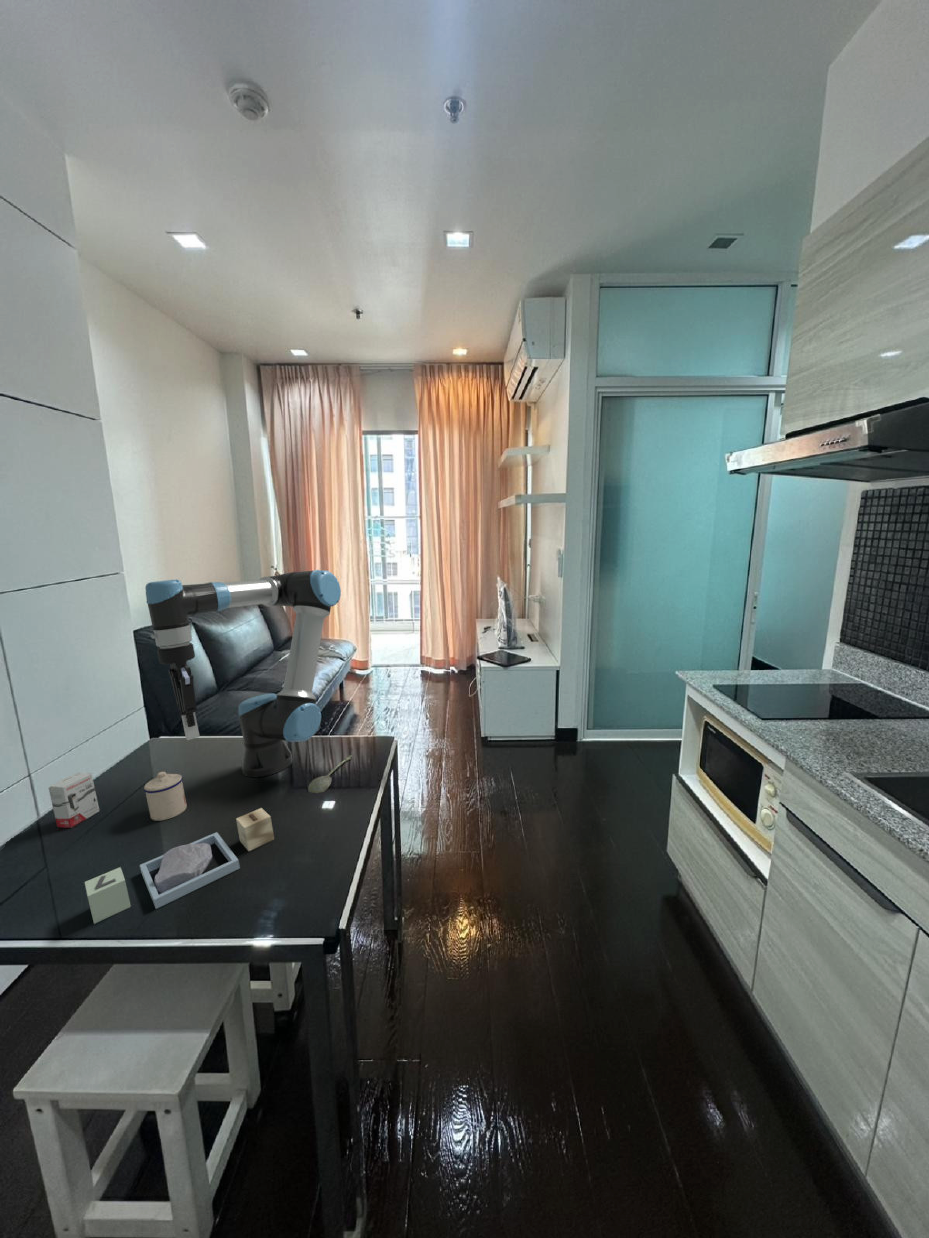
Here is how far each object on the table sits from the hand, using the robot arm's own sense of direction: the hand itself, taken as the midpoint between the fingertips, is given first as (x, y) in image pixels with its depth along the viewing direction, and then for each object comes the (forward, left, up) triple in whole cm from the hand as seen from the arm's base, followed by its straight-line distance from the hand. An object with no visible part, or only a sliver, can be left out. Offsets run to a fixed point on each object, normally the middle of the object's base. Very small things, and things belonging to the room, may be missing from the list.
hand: (192, 737), depth 121 cm
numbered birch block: (-6, +16, -24) cm, 30 cm away
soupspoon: (-35, -1, -25) cm, 43 cm away
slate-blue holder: (+8, +16, -24) cm, 30 cm away
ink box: (+24, -35, -24) cm, 49 cm away
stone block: (+9, +16, -25) cm, 30 cm away
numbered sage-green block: (+23, +16, -24) cm, 37 cm away
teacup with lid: (+6, -19, -24) cm, 32 cm away
